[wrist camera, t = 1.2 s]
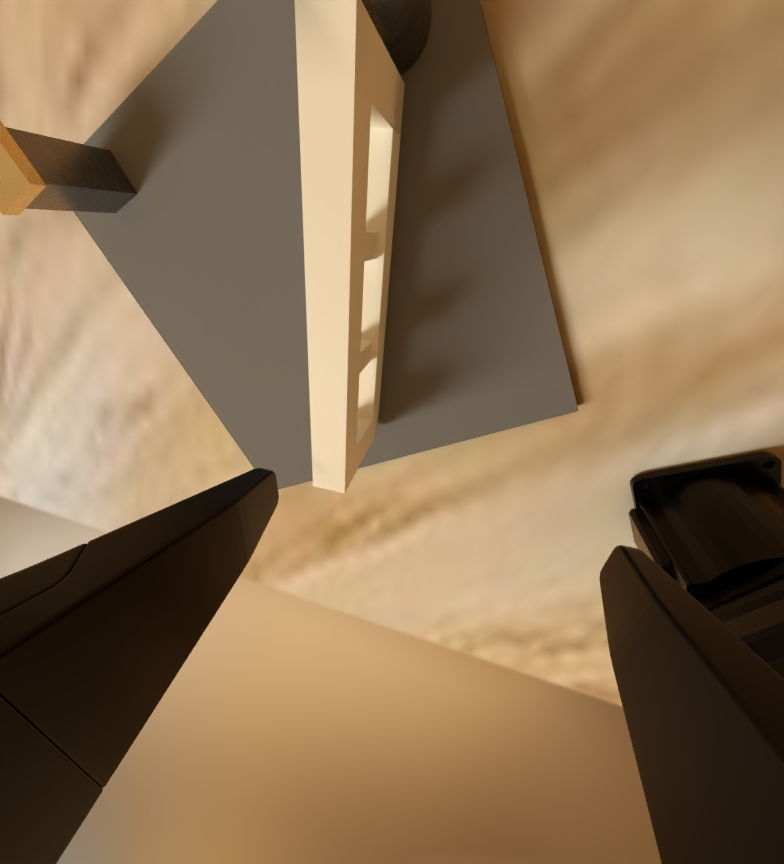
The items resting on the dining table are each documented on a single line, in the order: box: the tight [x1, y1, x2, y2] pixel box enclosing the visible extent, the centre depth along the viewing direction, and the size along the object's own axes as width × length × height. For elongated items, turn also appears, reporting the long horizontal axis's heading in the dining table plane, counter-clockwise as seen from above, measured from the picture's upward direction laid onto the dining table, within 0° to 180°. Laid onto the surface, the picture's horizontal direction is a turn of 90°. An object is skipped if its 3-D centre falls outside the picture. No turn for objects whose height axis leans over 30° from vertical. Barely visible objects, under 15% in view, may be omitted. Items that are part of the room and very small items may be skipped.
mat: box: [74, 0, 578, 489], centre depth 19 cm, size 22×22×1 cm
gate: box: [295, 0, 405, 493], centre depth 15 cm, size 16×2×6 cm, turn 175°
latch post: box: [0, 121, 137, 215], centre depth 16 cm, size 2×2×6 cm
